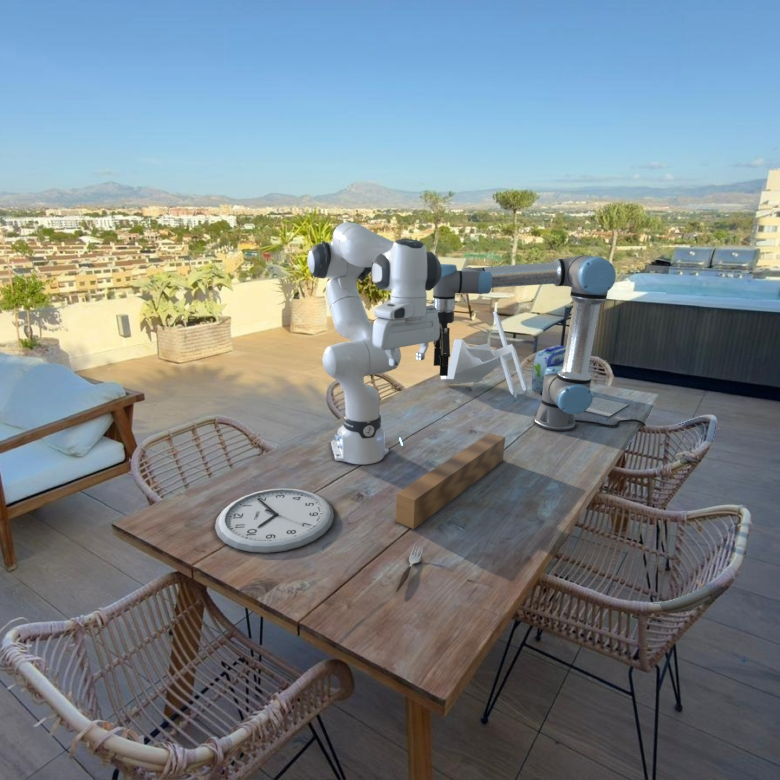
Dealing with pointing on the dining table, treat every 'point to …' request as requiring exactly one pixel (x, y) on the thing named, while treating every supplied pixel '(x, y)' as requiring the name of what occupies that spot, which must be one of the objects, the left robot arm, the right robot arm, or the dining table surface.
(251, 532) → the wall clock
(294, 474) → the dining table surface
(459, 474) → the post
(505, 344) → the white plastic object
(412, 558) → the fork
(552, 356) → the lunch box
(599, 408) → the invitation card
